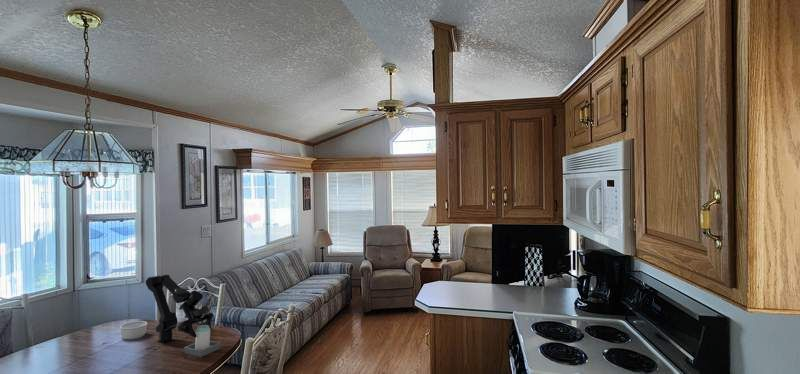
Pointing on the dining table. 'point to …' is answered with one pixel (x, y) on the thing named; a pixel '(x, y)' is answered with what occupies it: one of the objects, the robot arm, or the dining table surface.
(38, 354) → the dining table surface
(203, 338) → the can
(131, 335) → the ramekin
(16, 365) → the dining table surface
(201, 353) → the bin
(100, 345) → the dining table surface
